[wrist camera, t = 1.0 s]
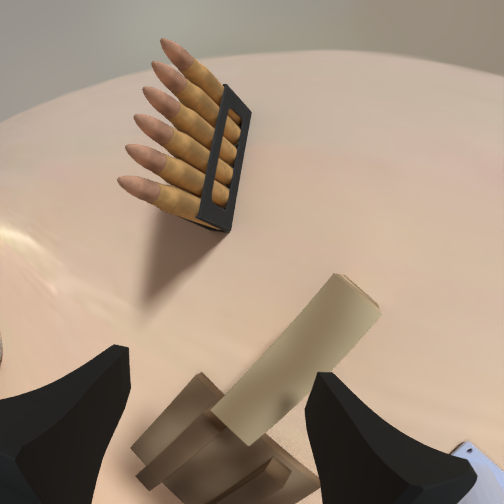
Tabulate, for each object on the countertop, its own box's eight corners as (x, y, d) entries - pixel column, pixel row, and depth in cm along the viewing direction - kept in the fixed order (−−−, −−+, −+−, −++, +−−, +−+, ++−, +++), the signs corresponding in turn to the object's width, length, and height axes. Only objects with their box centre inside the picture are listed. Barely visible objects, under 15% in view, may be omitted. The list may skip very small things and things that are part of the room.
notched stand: (322, 480, 21) (314, 504, 17) (231, 533, 23) (216, 553, 19) (202, 372, 25) (179, 382, 22) (136, 444, 27) (114, 456, 24)
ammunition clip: (230, 232, 25) (127, 198, 14) (210, 230, 26) (102, 197, 15) (252, 111, 26) (178, 24, 15) (232, 112, 26) (153, 31, 15)
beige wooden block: (377, 302, 21) (382, 315, 14) (286, 399, 23) (249, 446, 15) (345, 275, 22) (333, 272, 15) (258, 374, 24) (209, 409, 16)
